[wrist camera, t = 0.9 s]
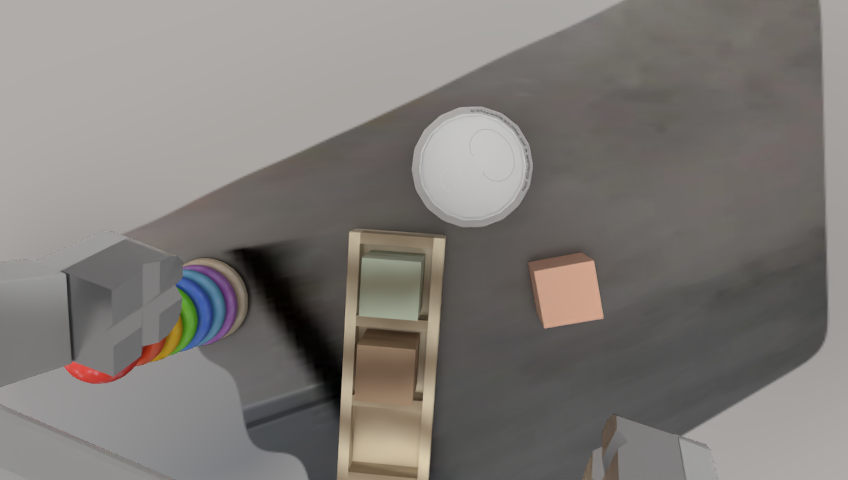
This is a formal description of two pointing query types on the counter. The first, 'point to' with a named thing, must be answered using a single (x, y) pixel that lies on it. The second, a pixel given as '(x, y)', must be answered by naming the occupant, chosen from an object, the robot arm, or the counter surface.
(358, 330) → the block rack
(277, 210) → the counter surface
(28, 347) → the robot arm
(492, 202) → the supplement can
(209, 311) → the stacking toy
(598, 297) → the terracotta cube
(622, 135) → the counter surface
